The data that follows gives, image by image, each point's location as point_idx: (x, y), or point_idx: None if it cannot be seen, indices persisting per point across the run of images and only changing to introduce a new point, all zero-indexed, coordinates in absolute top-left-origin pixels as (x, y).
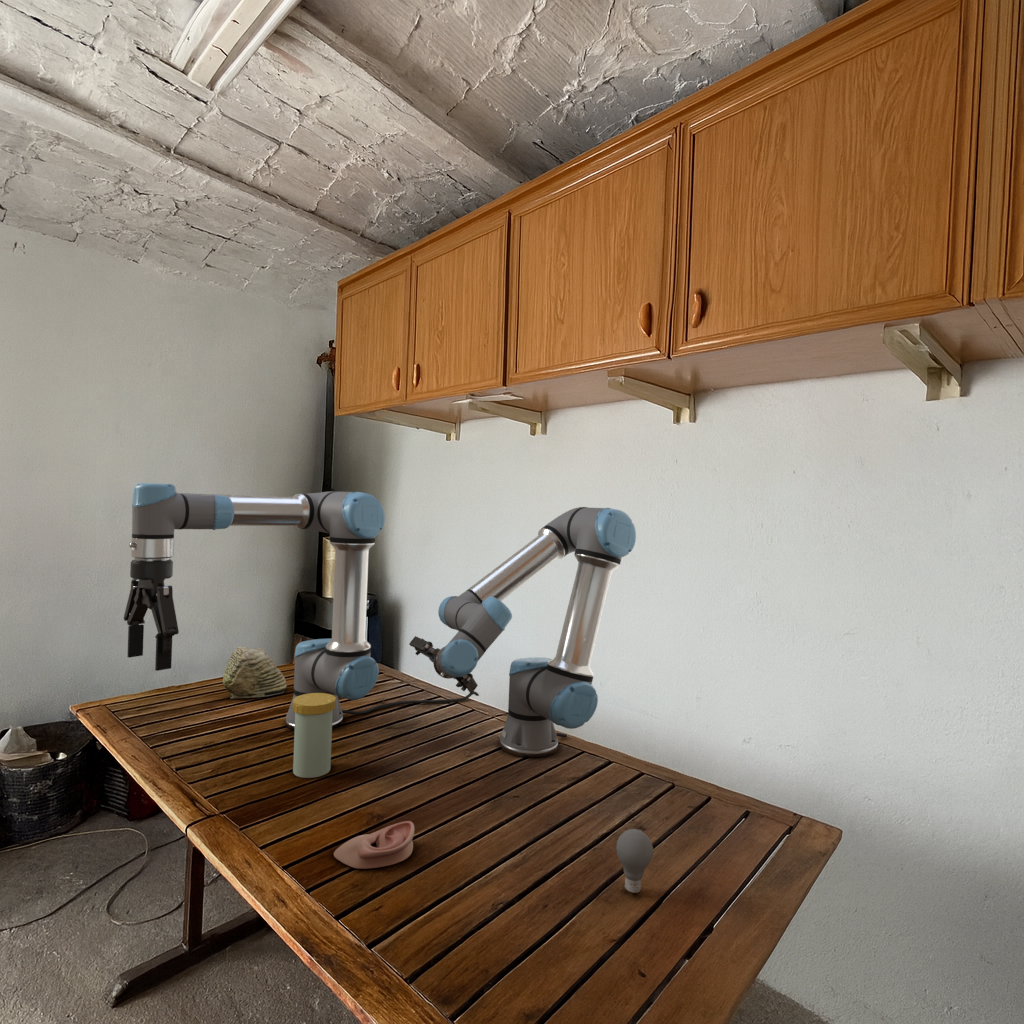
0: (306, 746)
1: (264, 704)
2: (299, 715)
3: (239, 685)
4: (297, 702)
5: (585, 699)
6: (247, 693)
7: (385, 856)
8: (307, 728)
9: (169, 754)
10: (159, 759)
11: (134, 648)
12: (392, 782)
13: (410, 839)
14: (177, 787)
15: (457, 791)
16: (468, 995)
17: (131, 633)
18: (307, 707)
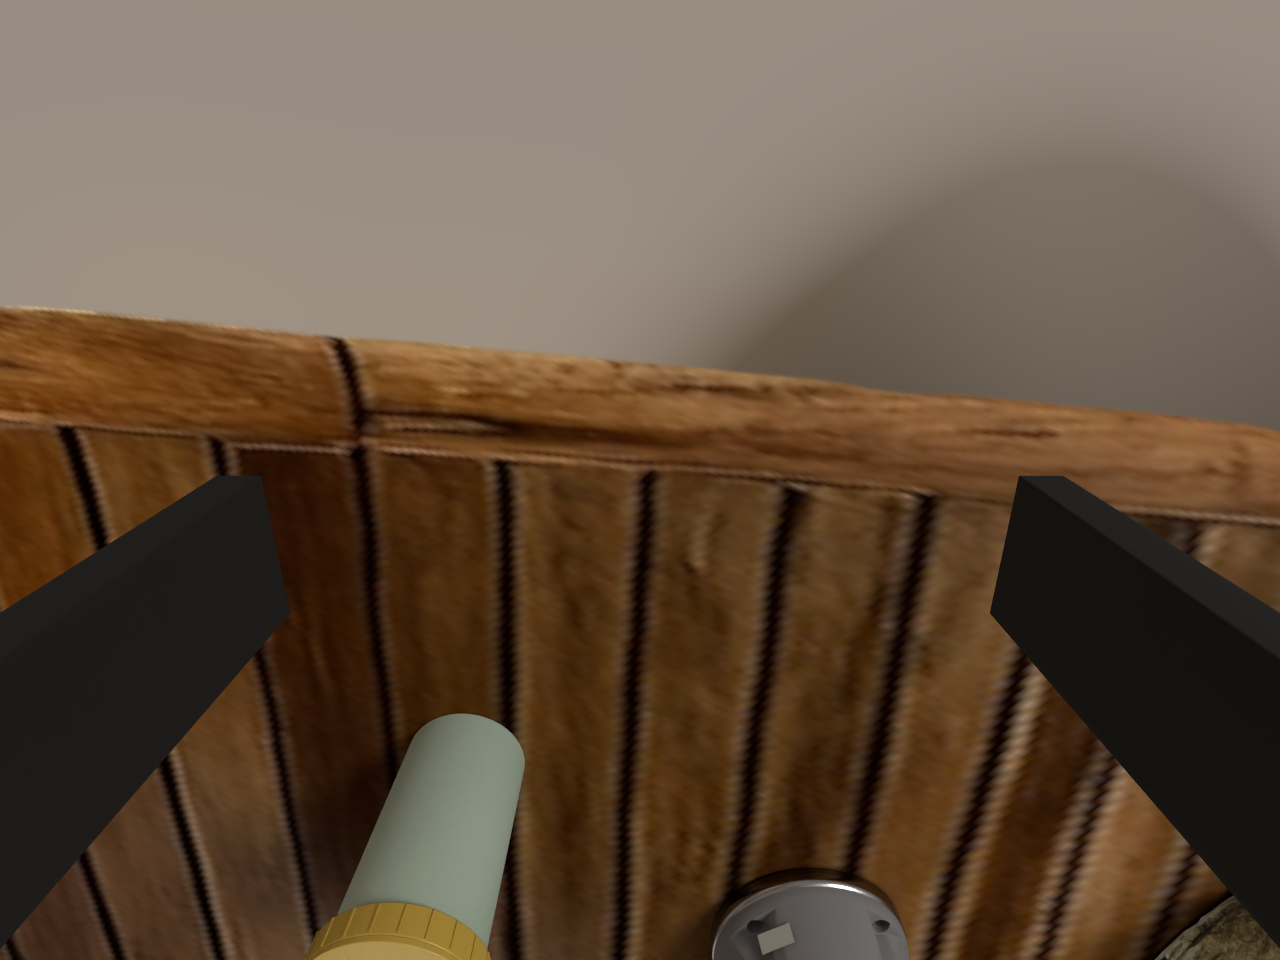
0: (393, 803)
1: (1096, 920)
2: (389, 897)
3: (1259, 946)
4: (388, 950)
5: None
6: (1215, 931)
7: None
8: (369, 863)
9: (943, 527)
10: (929, 486)
11: (1066, 581)
12: (241, 849)
13: None
14: (645, 432)
15: (91, 913)
16: None
17: (1258, 680)
18: (322, 947)
